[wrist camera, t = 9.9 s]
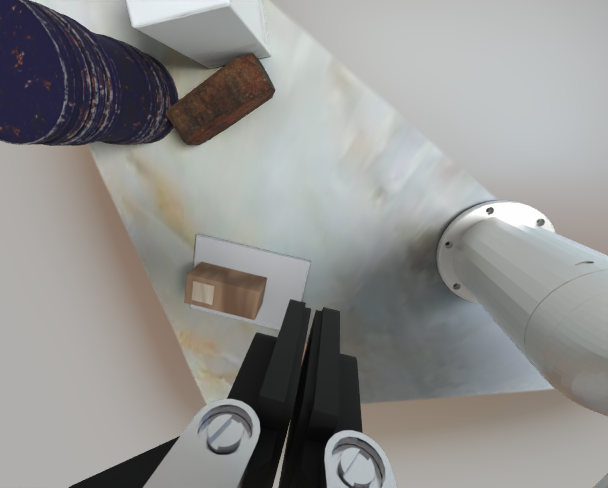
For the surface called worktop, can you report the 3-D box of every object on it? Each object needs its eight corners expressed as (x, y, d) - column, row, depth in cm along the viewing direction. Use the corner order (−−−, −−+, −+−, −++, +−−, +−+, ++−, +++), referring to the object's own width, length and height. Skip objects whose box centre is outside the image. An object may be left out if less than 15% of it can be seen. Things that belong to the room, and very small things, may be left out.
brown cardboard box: (259, 292, 35) (186, 274, 36) (254, 320, 37) (184, 302, 37) (267, 277, 39) (201, 261, 39) (262, 303, 40) (198, 287, 41)
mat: (310, 261, 38) (310, 262, 38) (294, 331, 42) (293, 333, 41) (198, 233, 39) (196, 235, 38) (191, 305, 43) (189, 307, 42)
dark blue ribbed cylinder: (197, 103, 34) (95, 75, 20) (145, 162, 37) (24, 175, 23) (130, 27, 32) (-34, -63, 18) (82, 95, 35) (-92, 64, 21)
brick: (204, 146, 35) (185, 146, 31) (184, 114, 34) (161, 110, 30) (279, 94, 33) (270, 87, 28) (260, 59, 32) (247, 45, 27)
